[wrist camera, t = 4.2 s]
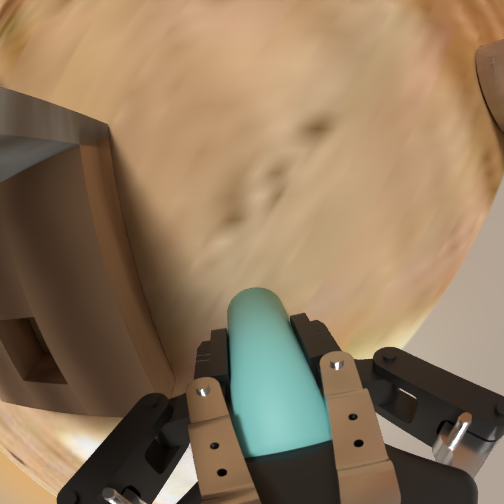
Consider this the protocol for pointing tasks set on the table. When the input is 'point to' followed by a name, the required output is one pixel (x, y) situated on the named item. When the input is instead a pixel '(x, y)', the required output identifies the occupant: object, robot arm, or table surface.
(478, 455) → the robot arm
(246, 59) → the table surface
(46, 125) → the grey brown l-shaped piece
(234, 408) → the peg
